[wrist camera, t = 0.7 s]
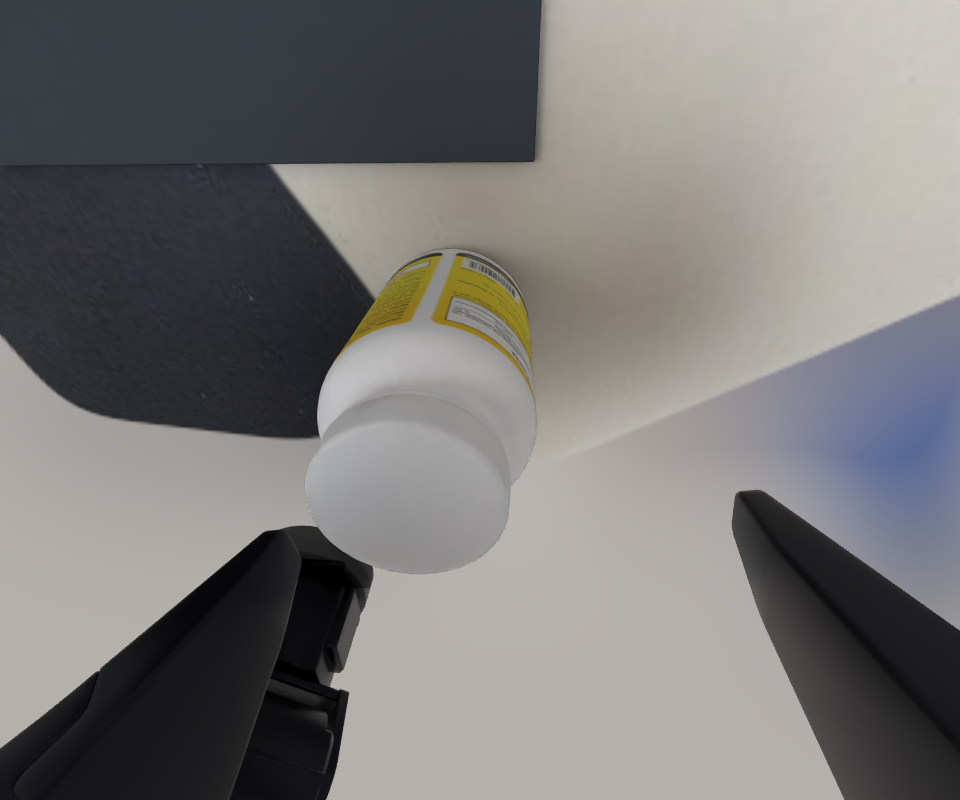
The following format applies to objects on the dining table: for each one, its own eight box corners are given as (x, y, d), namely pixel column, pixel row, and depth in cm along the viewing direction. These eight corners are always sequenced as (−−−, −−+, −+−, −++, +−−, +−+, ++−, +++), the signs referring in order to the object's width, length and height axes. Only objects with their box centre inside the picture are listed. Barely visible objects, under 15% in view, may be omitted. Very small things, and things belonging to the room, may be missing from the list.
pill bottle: (390, 381, 22) (297, 590, 13) (373, 243, 19) (231, 387, 9) (526, 385, 22) (534, 603, 12) (533, 245, 18) (553, 396, 9)
